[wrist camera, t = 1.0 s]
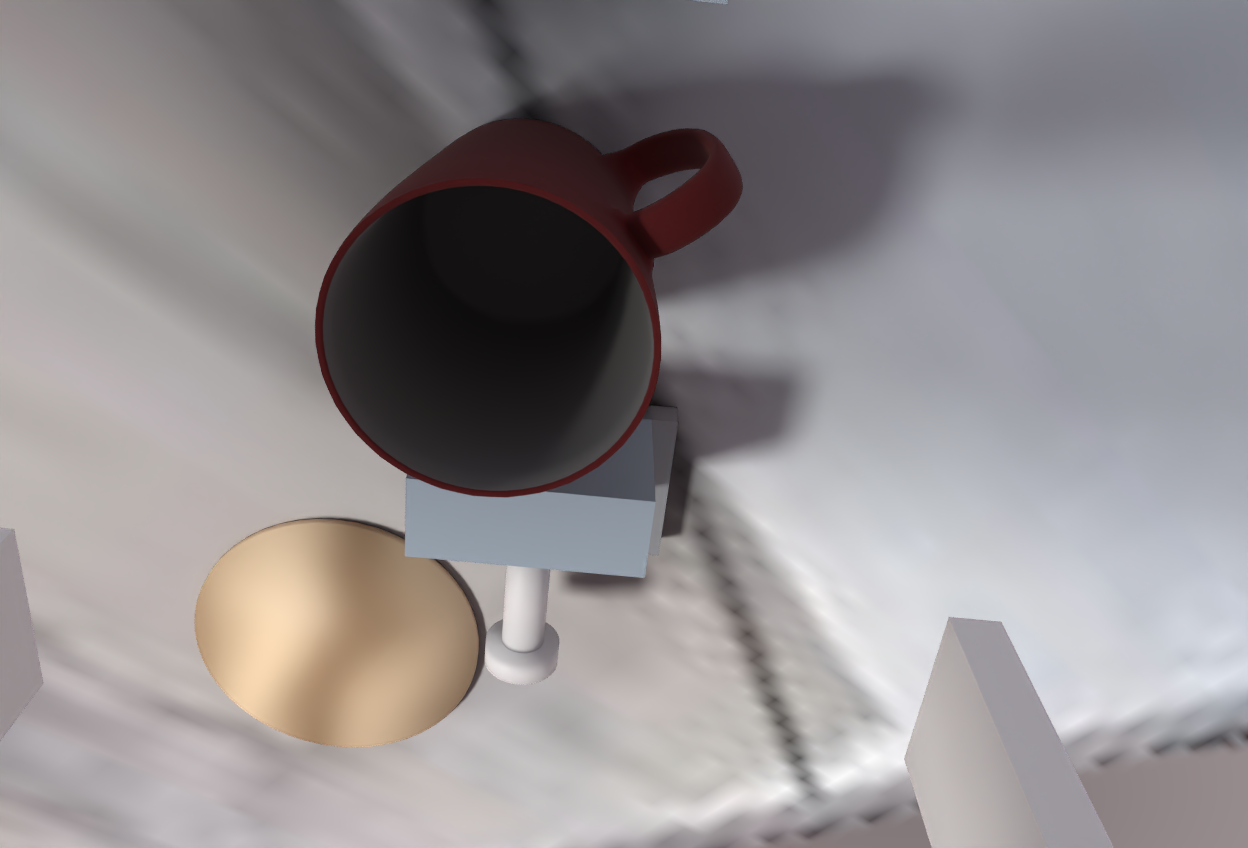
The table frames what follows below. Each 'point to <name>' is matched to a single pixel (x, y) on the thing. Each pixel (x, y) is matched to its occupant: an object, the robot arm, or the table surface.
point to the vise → (551, 536)
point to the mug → (512, 303)
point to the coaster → (336, 633)
